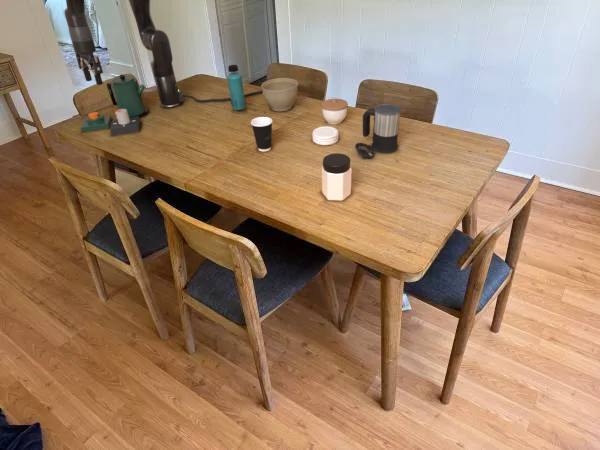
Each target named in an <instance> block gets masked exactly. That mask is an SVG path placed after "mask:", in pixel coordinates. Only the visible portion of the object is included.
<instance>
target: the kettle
mask: <svg viewBox="0 0 600 450" xmlns="http://www.w3.org/2000/svg"><path fill="white" fill-rule="evenodd" d="M106 87H107V91H108V94H109V97H110V100H111V103H112V105H113V106H117V108H118V110H119V109H127V112H128V115H129V117H136V116H139V119H141V118H144V117H146V116H147V115H148V114H149V109H148V108H147V107H146V106H145V103H144V100H143V96H142V94H143V92H144V91H145V87H146V86H145V85H144V84H140V85H139V83H138V79H137V78H136V77H134V76H133V75H125V74H120V75H119V76H117V77H115V78H113V79H112V80H111V82H107V83H106Z"/></svg>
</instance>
